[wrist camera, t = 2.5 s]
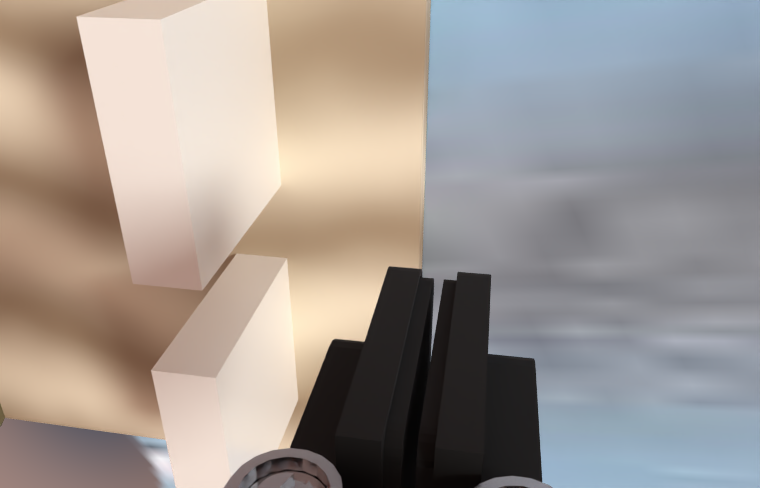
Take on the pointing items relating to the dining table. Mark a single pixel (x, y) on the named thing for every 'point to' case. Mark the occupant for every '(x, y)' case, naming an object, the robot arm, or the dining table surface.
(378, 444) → the robot arm
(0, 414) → the cork
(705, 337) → the dining table surface
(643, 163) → the dining table surface
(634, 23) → the dining table surface
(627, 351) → the dining table surface
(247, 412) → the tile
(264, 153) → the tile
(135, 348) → the birch board
